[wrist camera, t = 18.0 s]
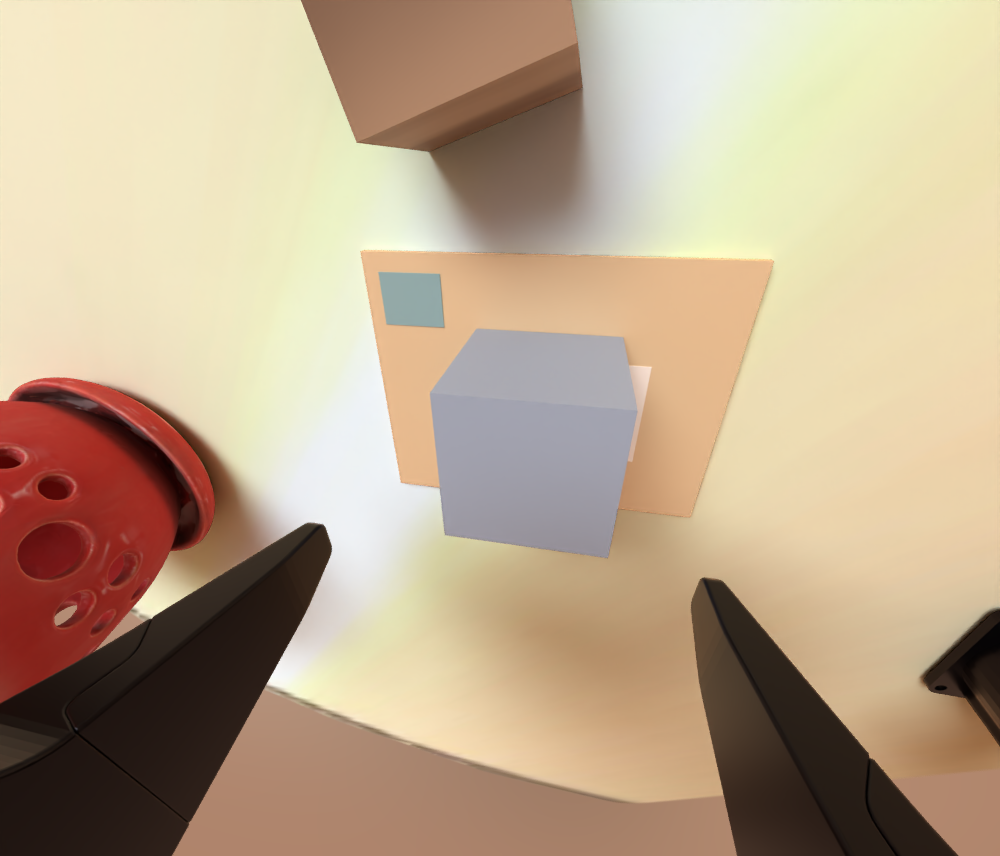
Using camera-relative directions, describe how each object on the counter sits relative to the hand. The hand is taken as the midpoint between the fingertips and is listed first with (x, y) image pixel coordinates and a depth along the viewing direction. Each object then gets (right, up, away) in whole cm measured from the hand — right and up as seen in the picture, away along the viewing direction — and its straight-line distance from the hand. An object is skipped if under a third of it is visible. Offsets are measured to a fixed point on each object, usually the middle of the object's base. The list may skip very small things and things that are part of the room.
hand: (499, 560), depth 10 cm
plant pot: (-22, +2, +15) cm, 26 cm away
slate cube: (+2, +4, +7) cm, 9 cm away
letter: (+2, +5, +7) cm, 9 cm away
